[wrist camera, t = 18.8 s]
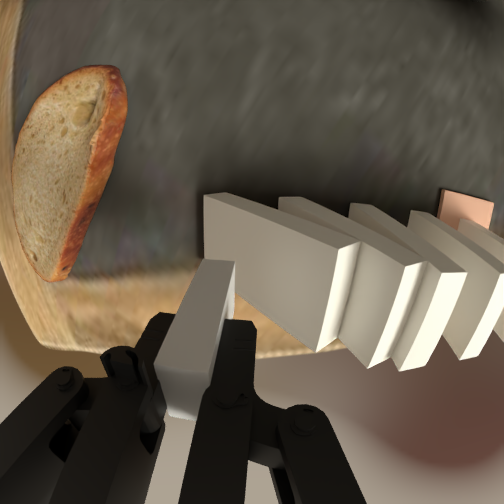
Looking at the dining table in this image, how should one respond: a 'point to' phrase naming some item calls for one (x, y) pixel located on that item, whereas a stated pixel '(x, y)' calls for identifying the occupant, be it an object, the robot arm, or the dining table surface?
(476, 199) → the mat
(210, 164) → the dining table surface
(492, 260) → the domino
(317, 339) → the domino
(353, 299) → the domino
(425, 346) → the domino
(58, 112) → the slice of bread
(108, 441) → the robot arm
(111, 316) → the dining table surface
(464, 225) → the domino
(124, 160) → the dining table surface
